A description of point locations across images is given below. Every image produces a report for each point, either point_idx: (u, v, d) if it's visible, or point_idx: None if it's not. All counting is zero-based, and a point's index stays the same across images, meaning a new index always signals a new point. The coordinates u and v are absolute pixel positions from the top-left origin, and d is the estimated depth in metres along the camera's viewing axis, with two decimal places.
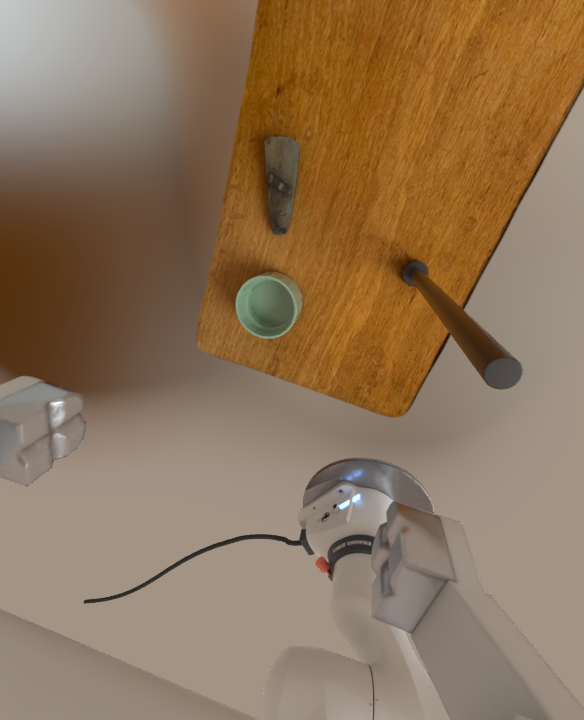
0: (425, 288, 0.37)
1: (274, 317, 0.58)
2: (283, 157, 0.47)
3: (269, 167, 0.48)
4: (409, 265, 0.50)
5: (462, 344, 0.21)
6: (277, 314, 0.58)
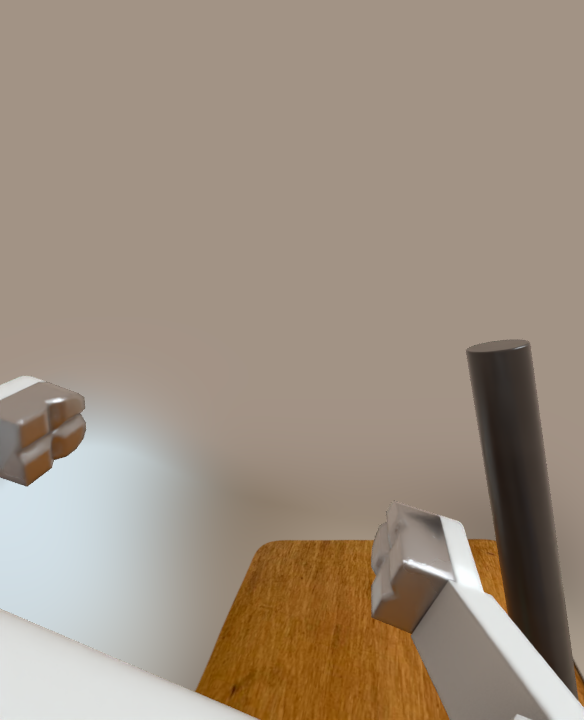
0: None
1: None
2: None
3: None
4: None
5: (490, 477, 0.11)
6: None
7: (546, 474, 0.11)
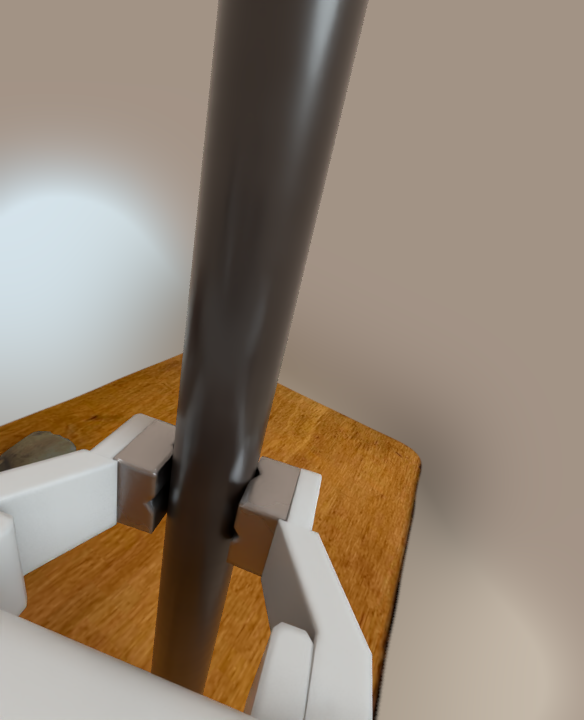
0: None
1: None
2: (42, 450, 0.31)
3: (9, 452, 0.30)
4: None
5: None
6: None
7: None
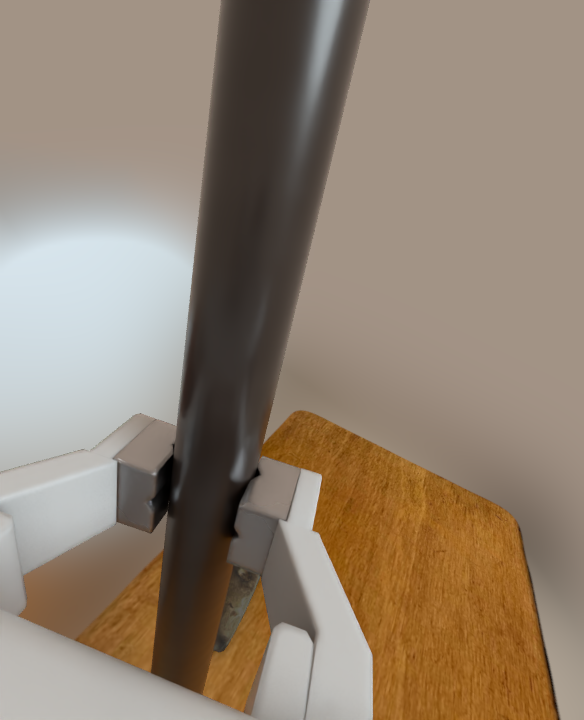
0: None
1: None
2: None
3: None
4: None
5: None
6: None
7: None
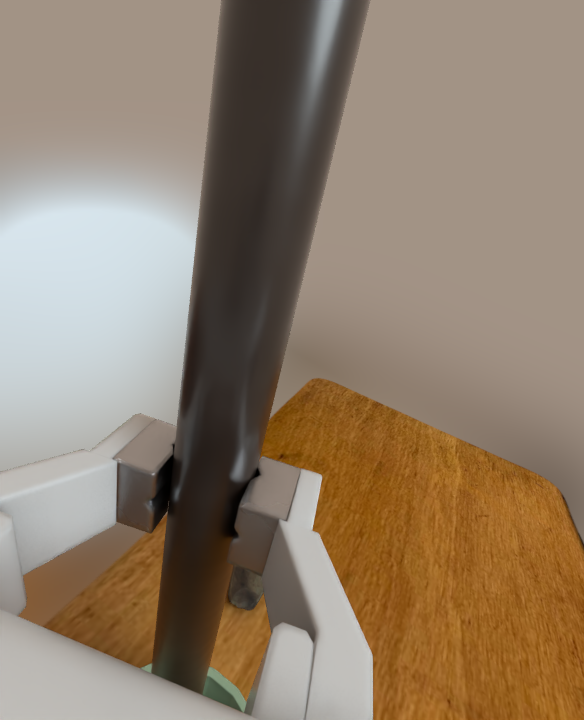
0: None
1: None
2: None
3: None
4: None
5: None
6: None
7: None
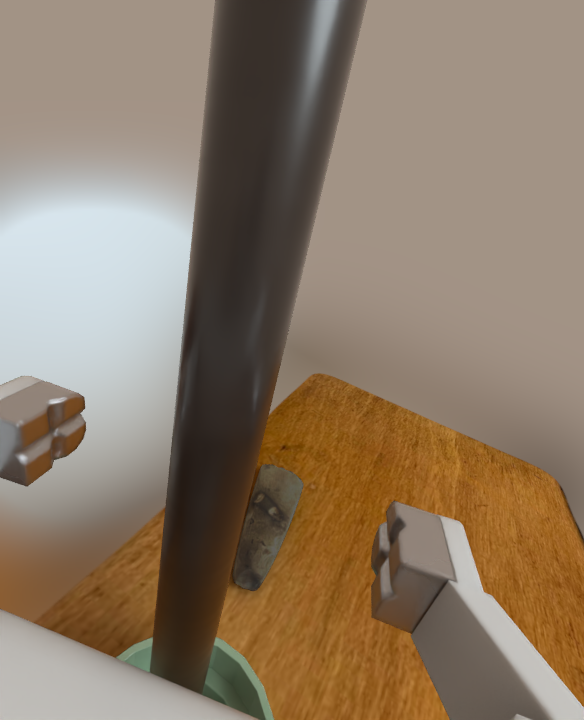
0: None
1: None
2: (283, 484, 0.35)
3: (262, 487, 0.34)
4: None
5: None
6: None
7: None
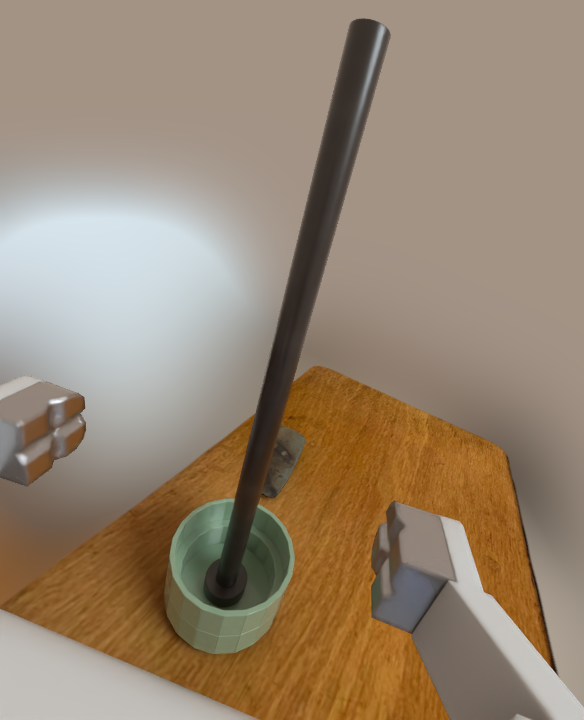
0: None
1: None
2: (291, 438, 0.48)
3: None
4: None
5: None
6: None
7: (350, 147, 0.15)
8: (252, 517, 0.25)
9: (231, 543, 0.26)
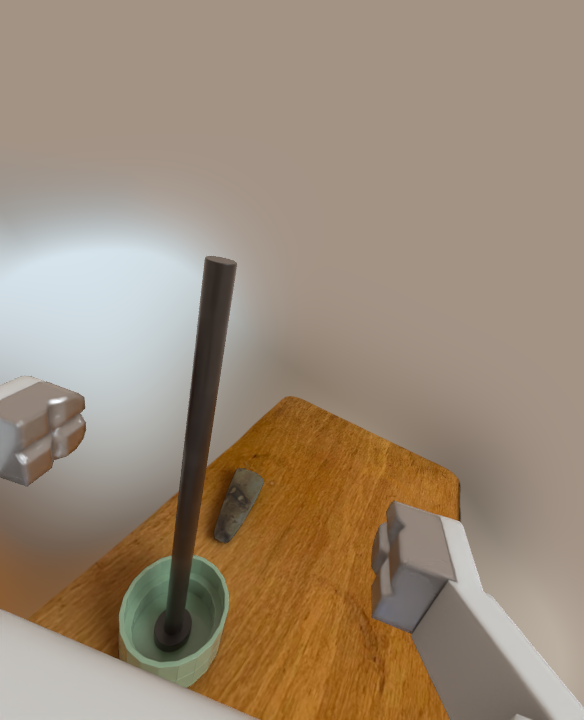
0: None
1: None
2: (250, 481, 0.53)
3: (235, 483, 0.52)
4: None
5: None
6: (168, 657, 0.33)
7: (216, 336, 0.20)
8: (186, 581, 0.30)
9: (170, 602, 0.31)
